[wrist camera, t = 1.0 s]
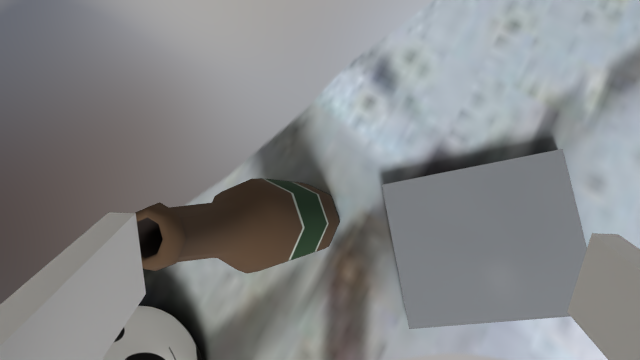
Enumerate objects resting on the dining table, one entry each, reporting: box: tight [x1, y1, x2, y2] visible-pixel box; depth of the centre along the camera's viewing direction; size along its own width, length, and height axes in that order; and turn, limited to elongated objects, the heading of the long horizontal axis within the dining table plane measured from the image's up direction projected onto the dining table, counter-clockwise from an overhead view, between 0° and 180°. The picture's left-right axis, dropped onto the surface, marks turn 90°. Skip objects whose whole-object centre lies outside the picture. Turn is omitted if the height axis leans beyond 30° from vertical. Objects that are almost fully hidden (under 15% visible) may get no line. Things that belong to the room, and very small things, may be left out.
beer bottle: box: [136, 179, 340, 273], centre depth 33 cm, size 8×8×24 cm
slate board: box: [382, 149, 587, 329], centre depth 37 cm, size 16×14×2 cm
